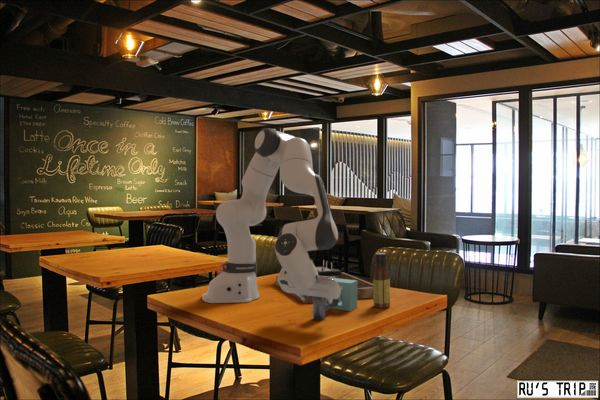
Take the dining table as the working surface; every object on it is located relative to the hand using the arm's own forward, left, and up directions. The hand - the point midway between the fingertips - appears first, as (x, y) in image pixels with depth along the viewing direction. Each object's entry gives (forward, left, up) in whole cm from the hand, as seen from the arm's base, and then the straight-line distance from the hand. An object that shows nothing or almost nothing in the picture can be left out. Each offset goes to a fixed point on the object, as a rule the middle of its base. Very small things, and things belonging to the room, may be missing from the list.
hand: (317, 299), depth 159 cm
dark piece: (+6, +5, -7) cm, 10 cm away
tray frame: (+21, +41, -7) cm, 47 cm away
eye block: (+15, +13, -7) cm, 21 cm away
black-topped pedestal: (+19, +38, -7) cm, 43 cm away
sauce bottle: (+30, +10, -7) cm, 32 cm away
